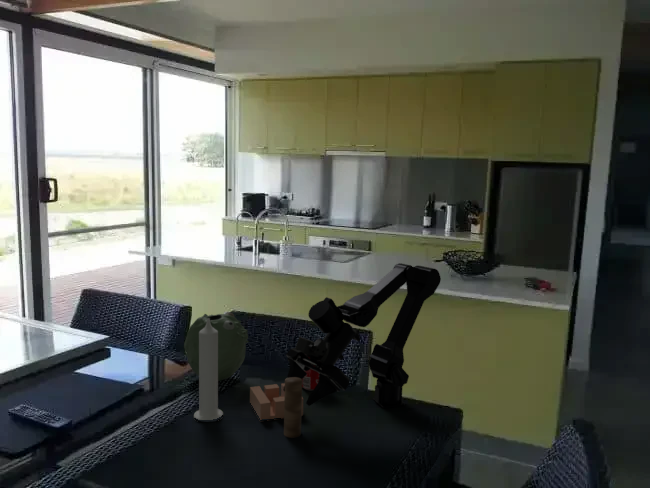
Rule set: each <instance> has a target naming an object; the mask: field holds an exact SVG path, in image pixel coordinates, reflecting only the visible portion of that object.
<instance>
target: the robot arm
mask: <svg viewBox="0 0 650 488" xmlns="http://www.w3.org/2000/svg"><path fill="white" fill-rule="evenodd" d="M441 281H442V278H441V275H440V272H439V270H438V269H436V268H434V267H427V266H423V265H415V266H413V265H411V264H405V263H396V264H394V266H393V268H392V269H391V270H390V271H388V273H386V274H385V276H383V277H382V278H381V279H380V280H378V282H376V283H375V284H374V285H373V286H371V288H369V289H368V290H367V291H365V292H363V293H362V294H361V293H360V294H358V295H354V296H353V297H351V298H349V299H347V300H345V302H344V303H342V304H340V305H336V303H335V301H334V300H333V299H332V298H330V297H325V298H324V299H323V300H320V301H318V302H316V303H315V304H313V305H311V307H310V308H309V311H308V314H307V315H308V318H309V319H310V320H311V321H312V322H313V324H314V325H315V326H316V327H317V328H318V329H319V330H320V331H321V332H322V334H323V333H324V334H326V335H325V336H324V338H323V339H322V338H318V339H316V340H315V341H312V340H309V339H308V338H304V337H302V336H299V337H298V340H297V342H296V345H295V347H293V348H290V349H289V350H288V352H287V353H286V354H285V356H286V357H287V361H288V363H289V370H288V374H287V377H286V378H289V377H298V378H301V379H302V378H304V377H305V376H306V375H307V373H306V372H305V371H308V370H310V369H312V370H314V371H316V372H318V373H320V374H319V382H318V384H317V385H316V387H315V389H314V390H313V391H311V393H310V395H309V396H308V398H307V400H306V402H305V404H306V405H307V406H312V405H313V404H316V403H317V402H319V401H321V400H322V399H324V398H326V397H328V396H330V395H332V394H334V393H337V392H338V393H339V392H340V391H341V390H342V391H344V392H345V391H346V390H347V388H348V387H349V386H350V378H349V377H348V375H346V373H345V372H344V371H343V370H342V369H341V368H340V367H337V366H335V364H336V363H337V361H339V360H340V361H343V360H344V358H345V356H344V355H343V354H344V352H345V350H346V349H347V347H348V346H349V345H350V344H351V341H357V342H360V341H361V335H360V329H357V328H354V327H353V326H352V325H354V326H357V327H360V328H366V327H367V326H369V325H370V324H371V322H372V321H374V319H375V318H376V316H377V315H378V311H379V308H380V307H381V306H382V305H383V304H384V303H385V302H386V301H387V300H388V299H389V298H391V297H392V296H393V295H394V294H395V293H396V292H397V291H398V290H400V289H401V287H403V286H404V285H405V284H406V291H407V293H406V295H405V298H404V301H403V303H402V304H401V306H400V309H399V310H398V312H397V313H398V314H397V315H396V318H395V320H394V322H393V324H392V326H391V329H390V331H389V332H388V333H389V334H388V336H387V337H386V339H385V341H384V342H382V343H381V344H379V343H376V344H375V345H374V346H373V349H372V352H371V354H370V355H369V356H368V358H369V361H368V367H369V370H370V372H371V376H372V377H373V378H374V379H376V385H374V396H373V397H372V400H374V402H375V403H376V404H378V405H379V406H381V408H382V409H388V408H394V407H401V406H405V405H406V403H405V402H404V401H403V387H404V385H405V384H408V380H409V377H410V376H409V374H408V373H407V372H406V370H404V368H403V365H404V363H405V357H404V348H405V346H406V342H407V341H408V338H409V337H410V334H411V331H412V329H413V328H414V325H415V323H416V320H417V319H418V316H419V314H420V312H421V310H422V307H423V304H424V303H425V301H426V300H428V299H429V298H431V296H433V295H434V294H435V293H436V291H437V289H438V287H439V286H440V284H441ZM344 321H345V322H344ZM305 354H306V355H307V356H308V357H309V358H310V359H309V358H308V357H307V356H306V355H305ZM314 366H315V367H314ZM283 391H285V386H284V389H283Z"/></svg>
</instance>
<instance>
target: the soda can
mask: <svg viewBox="0 0 650 488" xmlns="http://www.w3.org/2000/svg"><path fill="white" fill-rule="evenodd" d="M305 355H306V354H305ZM306 356H307V355H306ZM307 357H308V356H307ZM308 358H309V357H308ZM309 359H310V358H309ZM314 367H315V366H314ZM305 372H306V373H307V375H306V376H305V377H304V378H302V389H304V390H305V391H310V392H313V390H314V389H315V387H316V385H317V384H318V382H319V374H320V373H318V372H316V371H314V370H312V369H310V370H308V371H305Z"/></svg>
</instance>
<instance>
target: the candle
mask: <svg viewBox="0 0 650 488" xmlns="http://www.w3.org/2000/svg"><path fill="white" fill-rule="evenodd" d="M198 392H199V393H198V395H199V397H198V401H199V402H198V404H199V405H198V407H199V408H198V410H196V411H195V412H194V414H193V419H194V418H196V419H198V420H213V419H217V418H219V417H221V416H222V415H223V416H224V412H223V411H222V410H221V409H219V407H218V406H219V381H218V331H217V330H216V329H214V328H213V327H212V326H211V323H210V319H209V318H208V319H207V323H206V326H205V327H204V328H203V329H202V330H201V331H200V332H199V376H198Z"/></svg>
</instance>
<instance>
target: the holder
mask: <svg viewBox="0 0 650 488" xmlns="http://www.w3.org/2000/svg"><path fill="white" fill-rule="evenodd" d="M280 385H281V386H279V385H278V384H277V383H275V384H266V385H263V390H262V388H261V386H260V385H257V386H250V387H249V404H250V403H251V405H252V406H253V408H254V410H255V411H256V413H257V415H258V416H259V418H260V420H262V419H274V418H281V419H284V399H285V391H283V389H284V386H285V382H284V383H280ZM251 405H250V406H251ZM252 406H251V407H252ZM253 408H252V409H253ZM254 410H253V411H254ZM255 411H254V412H255ZM256 413H255V414H256ZM257 415H256V416H257ZM302 416H304V398H303V396H302V410H301V417H302ZM259 418H258V419H259ZM260 420H259V421H260ZM274 420H275V419H274Z"/></svg>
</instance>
